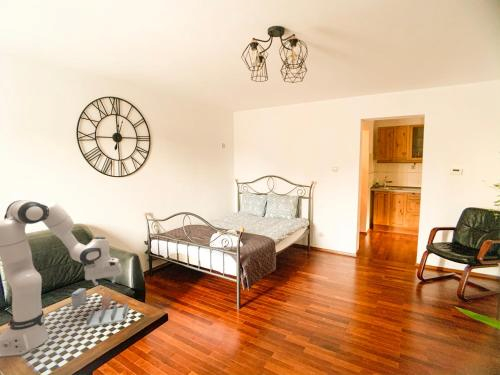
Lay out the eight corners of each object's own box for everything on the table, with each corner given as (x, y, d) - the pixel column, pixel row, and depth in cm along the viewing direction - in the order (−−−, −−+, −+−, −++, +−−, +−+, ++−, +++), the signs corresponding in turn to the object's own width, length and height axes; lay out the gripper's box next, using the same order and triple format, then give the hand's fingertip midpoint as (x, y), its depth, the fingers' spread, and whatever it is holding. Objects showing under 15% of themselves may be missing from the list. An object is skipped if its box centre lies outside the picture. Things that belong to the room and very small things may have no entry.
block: (102, 310, 162) (101, 299, 162) (105, 303, 170) (104, 293, 169) (107, 309, 163) (106, 298, 162) (110, 302, 171) (109, 292, 170)
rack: (85, 328, 145) (84, 321, 144) (92, 314, 158) (91, 307, 158) (125, 320, 151) (125, 313, 150) (129, 307, 164) (128, 301, 164)
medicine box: (80, 300, 174) (79, 288, 173) (87, 300, 174) (85, 288, 173) (71, 307, 166) (70, 294, 165) (78, 307, 166) (77, 294, 165)
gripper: (82, 267, 158) (84, 289, 159) (119, 261, 164) (121, 283, 165) (85, 263, 164) (87, 284, 165) (121, 258, 170) (123, 278, 171)
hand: (105, 283), depth 165 cm, fingers open, 8 cm apart
